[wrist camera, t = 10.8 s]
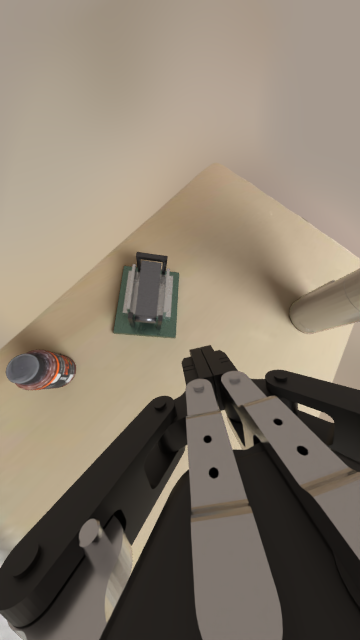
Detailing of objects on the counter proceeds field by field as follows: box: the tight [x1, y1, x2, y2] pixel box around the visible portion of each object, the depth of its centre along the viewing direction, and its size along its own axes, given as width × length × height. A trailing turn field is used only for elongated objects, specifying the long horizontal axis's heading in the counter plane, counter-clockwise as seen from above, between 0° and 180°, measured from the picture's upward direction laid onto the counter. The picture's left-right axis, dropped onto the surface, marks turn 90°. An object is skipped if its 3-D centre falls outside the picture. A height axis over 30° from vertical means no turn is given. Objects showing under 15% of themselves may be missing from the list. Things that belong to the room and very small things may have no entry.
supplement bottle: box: [6, 350, 76, 390], centre depth 30 cm, size 6×6×11 cm
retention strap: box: [134, 261, 161, 324], centre depth 36 cm, size 1×4×13 cm
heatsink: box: [113, 252, 179, 338], centre depth 39 cm, size 16×13×8 cm
